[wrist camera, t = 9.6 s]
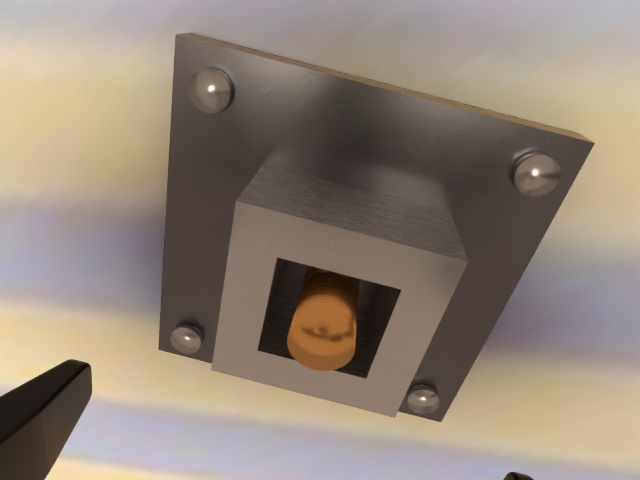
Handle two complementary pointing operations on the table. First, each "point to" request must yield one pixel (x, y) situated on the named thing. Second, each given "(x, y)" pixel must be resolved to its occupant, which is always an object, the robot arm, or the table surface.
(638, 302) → the table surface
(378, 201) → the socket
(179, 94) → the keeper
